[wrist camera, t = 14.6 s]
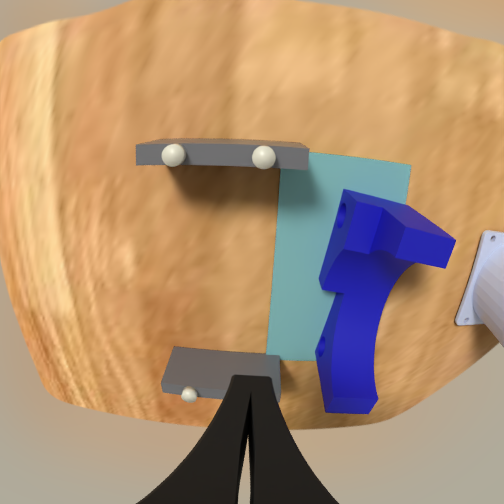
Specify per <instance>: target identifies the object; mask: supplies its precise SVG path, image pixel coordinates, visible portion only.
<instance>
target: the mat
mask: <svg viewBox="0 0 504 504" xmlns="http://www.w3.org/2000/svg"><path fill="white" fill-rule="evenodd" d="M410 170H411V165H407V164H401V163H394V162H388V161H381V160H374V159H366V158H358V157H350V156H342V155H332V154H322V153H312V152H309V161H308V170H297V169H282V168H281V171H280V186H279V201H278V215H277V229H276V242H275V255H274V268H273V280H272V292H271V304H270V316H269V327H268V338H267V349H266V355H279V356H280V360H296V361H316V355H315V350H316V347H317V344H318V342H319V339H320V337H321V334H322V331H323V328H324V326H325V323H326V320H327V318H328V315H329V312H330V309H331V306H332V304H333V301H334V298H335V295H336V292H332V291H326V290H322V289H321V285H320V282H319V279H318V278H319V275H320V271H321V268H322V265H323V261H324V258H325V254H326V251H327V247H328V244H329V240H330V237H331V233H332V230H333V226H334V222H335V219H336V215H337V211H338V207H339V204H340V200H341V196H342V192H343V189H347V190H351V191H355V192H359V193H363V194H367V195H371V196H375V197H379V198H383V199H386V200H390V201H394V202H397V203H401V204H404V205H405V204H406V198H407V191H408V184H409V177H410Z"/></svg>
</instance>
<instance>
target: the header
mask: <svg viewBox="0 0 504 504" xmlns="http://www.w3.org/2000/svg"><path fill="white" fill-rule="evenodd" d="M308 161H309V148H308V147H306V146H304V145H303V144H301V143H295V142H282V141H265V140H244V139H159V140H155V141H150V142H146V143H141V144H137V145H136V165H168V166H170V167H175V166H177V165H218V166H246V167H258V168H260V169H268V168H282V169H297V170H308ZM235 374H237V375H253V376H269V377H271V378H272V383H273V388H274V392H275V395H276V399H277V402H280V396H281V380H280V356H279V355H266V354H262V353H244V352H229V351H216V350H205V349H194V348H184V347H175V346H174V348H173V351H172V353H171V356H170V359H169V362H168V364H167V367H166V370H165V373H164V376H163V378H162V381H161V386H162V390H163V392H164V393H171V394H178V395H182V396H181V397H182V399H183V400H184V401H186V402H190V403H191V402H195V401H196V398H197V397H204V398H214V399H224V397H225V394H226V392H227V390H228V387H229V384H230V381H231V377H232V376H233V375H235Z"/></svg>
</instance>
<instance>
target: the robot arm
mask: <svg viewBox="0 0 504 504" xmlns="http://www.w3.org/2000/svg"><path fill="white" fill-rule="evenodd" d="M492 236H493V237H492ZM491 237H492V239H491ZM455 322H456V324H457V325H475V324H485V325H486V326H487V327H488V328H489V330H490V331H491V332H492V333H493V335H494V336H495V337H496V338H497V339H498V341H499V342H500V343H501V344H502V346H503V347H504V232H498V231H490V230H486V231H484V232H483V234H482V237H481V240H480V244H479V248H478V252H477V255H476V259H475V262H474V266H473V269H472V272H471V275H470V279H469V282H468V285H467V288H466V291H465V294H464V296H463V299H462V302H461V305H460V308H459V310H458V313H457V316H456V318H455ZM247 438H248V439H249V440H248V441H249V462H250V486H251V487H250V489H251V490H250V492H251V494H250V504H339V503H338V502H337V501H336V500H335V499H334V498H333V497H332V496H331V494H330V493H329V492H328V491H327V489H326V488H325V487H324V486H323V484H322V483H321V482H320V481H319V479H318V478H317V477H316V475H315V474H314V472H313V471H312V470H311V468H310V467H309V465H308V464H307V462H306V461H305V459H304V457H303V456H302V454H301V452H300V451H299V449H298V447H297V445H296V443H295V441H294V439H293V437H292V435H291V434H290V431H289V429H288V427H287V425H286V422H285V420H284V418H283V415H282V413H281V410H280V408H279V405H278V402H277V399H276V395H275V392H274V388H273V383H272V378H271V377H269V376H253V375H237V374H235V375H233V376H232V377H231V381H230V384H229V387H228V390H227V392H226V394H225V397H224V399H223V401H222V403H221V405H220V407H219V409H218V411H217V412H216V414H215V416H214V418H213V420H212V421H211V423H210V424H209V426H208V428H207V429H206V431H205V432H204V434H203V435H202V437H201V438H200V440H199V441H198V442H197V444H196V445H195V447H194V448H193V449H192V451H191V452H190V453H189V454H188V455H187V457H186V458H185V459H184V460H183V461H182V462H181V463H180V465H179V466H178V467H177V468H176V469H175V470H174V471H173V472H172V473H171V474H170V475H169V476H168V477H167V478H166V479H165V480H164V481H163V482H162V483H161V484H160V485H159V486H157V487H156V488H155V489H154V490H153V491H152V492H151V493H150V494H148V495H147V496H146V497H145V498H143V499H142V500H141V501H139V502H138V503H136V504H238V493H239V485H240V479H241V473H242V467H243V461H244V456H245V450H246V444H247Z"/></svg>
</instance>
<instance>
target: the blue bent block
mask: <svg viewBox="0 0 504 504" xmlns="http://www.w3.org/2000/svg"><path fill="white" fill-rule="evenodd" d="M455 242H456V240H455V239H454V238H453V237H451V236H450V235H449V234H447V233H446V232H445V231H443V230H442V229H441V228H439V227H438V226H437V225H435V224H434V223H432V222H431V221H430V220H428V219H427V218H425V217H424V216H423V215H421V214H420V213H418V212H417V211H415V210H414V209H413V208H411V207H410V206H408V205H404V204H401V203H397V202H394V201H390V200H386V199H383V198H379V197H375V196H371V195H367V194H363V193H359V192H355V191H351V190H347V189H343V192H342V196H341V200H340V204H339V207H338V211H337V215H336V219H335V222H334V226H333V230H332V233H331V237H330V240H329V244H328V247H327V251H326V254H325V258H324V261H323V265H322V268H321V271H320V275H319V278H318V279H319V282H320V285H321V289H322V290H326V291H332V292H336V295H335V298H334V301H333V304H332V306H331V309H330V312H329V315H328V318H327V320H326V323H325V326H324V328H323V331H322V334H321V337H320V339H319V342H318V344H317V347H316V350H315V355H316V361H317V366H318V372H319V378H320V383H321V389H322V395H323V401H324V407H325V413H347V414H369V413H370V411H371V410H372V408H373V407H374V405H375V404H376V402H377V400H378V396H377V392H376V387H375V380H374V350H375V341H376V335H377V330H378V325H379V321H380V317H381V314H382V311H383V308H384V305H385V302H386V300H387V298H388V295H389V293H390V291H391V289H392V288H393V286H394V284H395V283H396V281H397V280H398V278H399V277H400V276H401V274H402V273H403V272H404V271H405V270H406V269H407V268H408V267H410V266H411V265H413V264H414V263H416V262H417V263H422V264H426V265H431V266H435V267H440V268H446V266H447V263H448V261H449V258H450V256H451V253H452V250H453V248H454V245H455Z"/></svg>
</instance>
